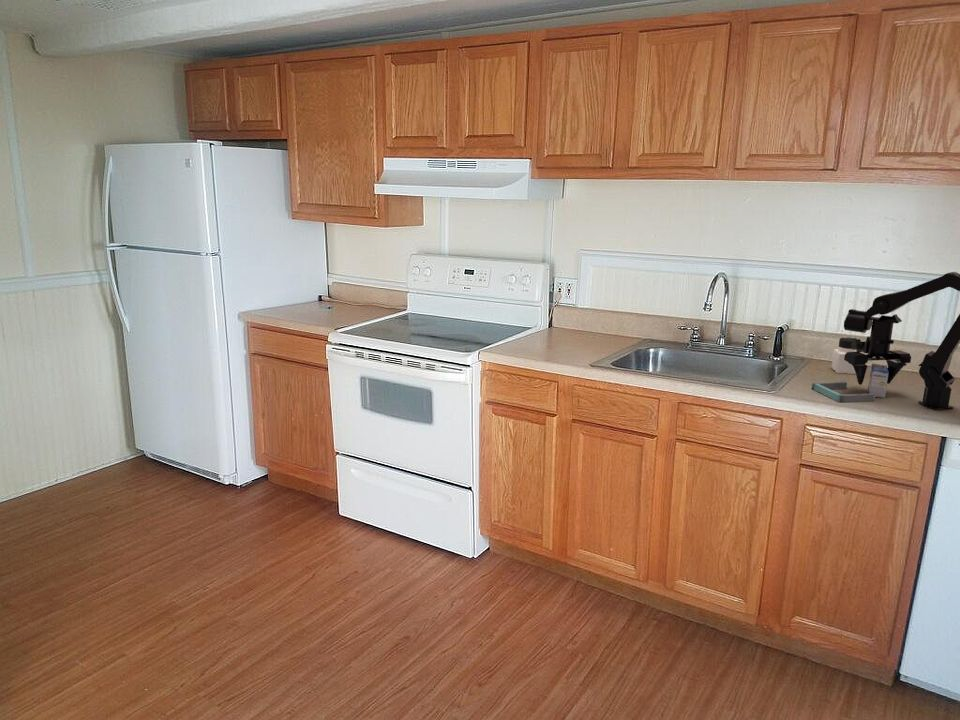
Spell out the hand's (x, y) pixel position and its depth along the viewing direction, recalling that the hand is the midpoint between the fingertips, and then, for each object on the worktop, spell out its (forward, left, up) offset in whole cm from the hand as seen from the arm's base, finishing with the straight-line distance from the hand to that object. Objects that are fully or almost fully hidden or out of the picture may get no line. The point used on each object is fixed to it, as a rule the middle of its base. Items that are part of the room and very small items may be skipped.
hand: (873, 383), depth 222 cm
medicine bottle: (+26, -8, -3) cm, 27 cm away
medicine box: (-1, -1, -3) cm, 3 cm away
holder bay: (0, +10, -3) cm, 10 cm away
